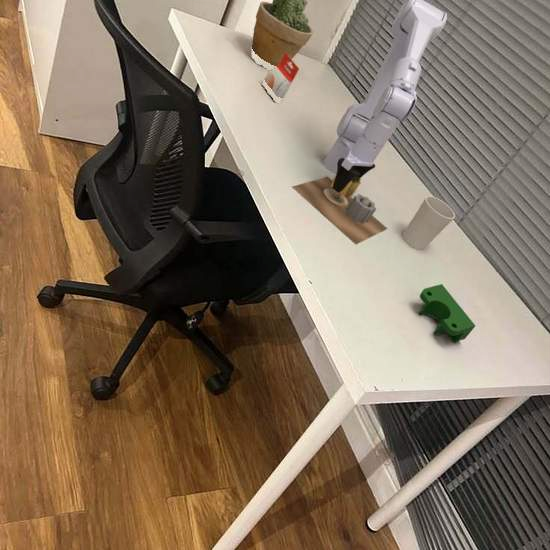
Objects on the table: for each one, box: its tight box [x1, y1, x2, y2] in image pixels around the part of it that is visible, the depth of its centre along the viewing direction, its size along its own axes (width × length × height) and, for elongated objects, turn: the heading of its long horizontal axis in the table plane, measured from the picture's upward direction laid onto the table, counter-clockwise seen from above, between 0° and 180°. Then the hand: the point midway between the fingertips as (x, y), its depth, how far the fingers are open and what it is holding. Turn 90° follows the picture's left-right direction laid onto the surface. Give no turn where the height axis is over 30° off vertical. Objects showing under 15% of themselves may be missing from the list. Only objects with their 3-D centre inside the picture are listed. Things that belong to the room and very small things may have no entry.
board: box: [291, 176, 388, 245], centre depth 127 cm, size 16×20×6 cm
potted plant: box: [251, 0, 314, 66], centre depth 173 cm, size 18×19×25 cm
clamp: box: [418, 283, 476, 343], centre depth 111 cm, size 12×6×9 cm, turn 23°
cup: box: [401, 195, 456, 252], centre depth 130 cm, size 8×8×12 cm
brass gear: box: [331, 175, 362, 198], centre depth 128 cm, size 6×6×4 cm
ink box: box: [263, 53, 300, 99], centre depth 159 cm, size 3×9×12 cm, turn 28°
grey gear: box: [346, 193, 377, 224], centre depth 128 cm, size 6×6×4 cm
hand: (342, 187), depth 129 cm, fingers closed on brass gear, 6 cm apart
